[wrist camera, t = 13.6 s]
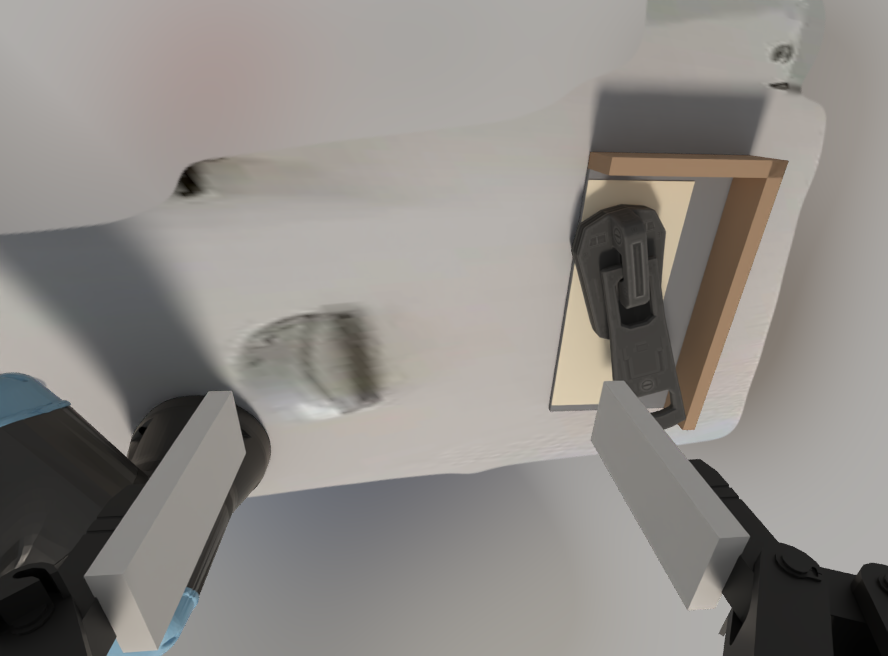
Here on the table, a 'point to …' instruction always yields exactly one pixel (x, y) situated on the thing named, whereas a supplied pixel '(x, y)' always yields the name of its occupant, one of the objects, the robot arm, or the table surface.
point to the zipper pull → (630, 299)
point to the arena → (674, 264)
